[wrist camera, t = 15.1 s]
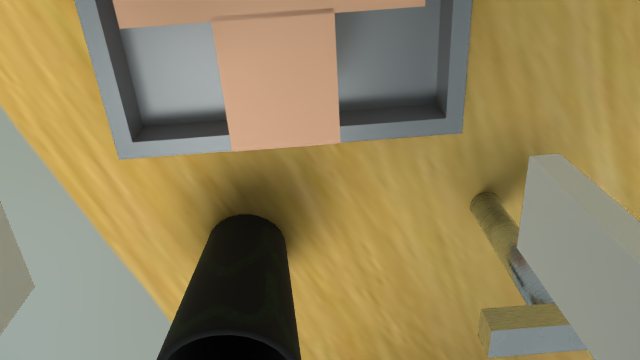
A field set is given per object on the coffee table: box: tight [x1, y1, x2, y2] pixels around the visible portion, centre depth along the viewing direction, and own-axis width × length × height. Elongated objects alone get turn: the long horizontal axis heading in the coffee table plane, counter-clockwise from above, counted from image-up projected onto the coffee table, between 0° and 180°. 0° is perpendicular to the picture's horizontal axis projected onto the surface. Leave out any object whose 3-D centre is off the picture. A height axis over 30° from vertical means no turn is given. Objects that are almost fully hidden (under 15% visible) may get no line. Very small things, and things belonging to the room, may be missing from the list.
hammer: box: [470, 193, 588, 358], centre depth 30 cm, size 2×5×12 cm, turn 94°
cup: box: [157, 214, 301, 360], centre depth 31 cm, size 8×8×12 cm
